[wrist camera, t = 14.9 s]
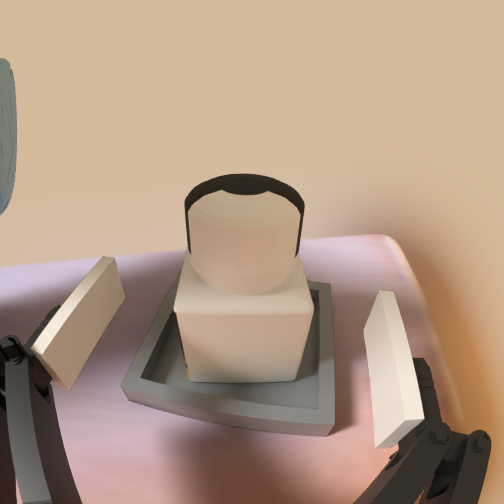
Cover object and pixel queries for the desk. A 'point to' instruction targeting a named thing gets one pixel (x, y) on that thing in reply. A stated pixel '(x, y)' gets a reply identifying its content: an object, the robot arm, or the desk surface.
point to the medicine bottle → (243, 282)
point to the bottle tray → (239, 394)
